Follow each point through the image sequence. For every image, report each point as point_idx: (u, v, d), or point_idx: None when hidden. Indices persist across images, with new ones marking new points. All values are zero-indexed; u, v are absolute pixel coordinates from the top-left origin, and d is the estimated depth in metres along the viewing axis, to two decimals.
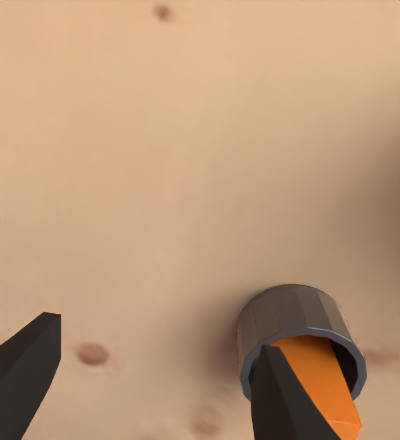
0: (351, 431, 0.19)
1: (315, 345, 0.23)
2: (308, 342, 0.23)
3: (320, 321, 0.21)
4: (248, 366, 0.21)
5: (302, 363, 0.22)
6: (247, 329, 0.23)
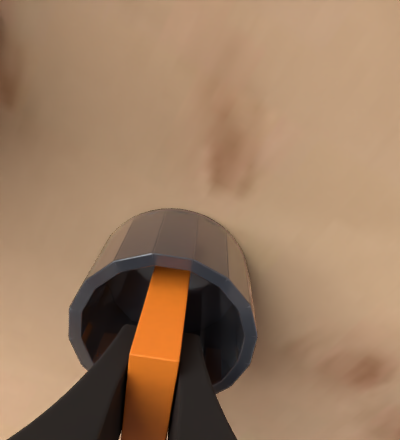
0: (146, 367, 0.11)
1: None
2: None
3: None
4: None
5: None
6: None
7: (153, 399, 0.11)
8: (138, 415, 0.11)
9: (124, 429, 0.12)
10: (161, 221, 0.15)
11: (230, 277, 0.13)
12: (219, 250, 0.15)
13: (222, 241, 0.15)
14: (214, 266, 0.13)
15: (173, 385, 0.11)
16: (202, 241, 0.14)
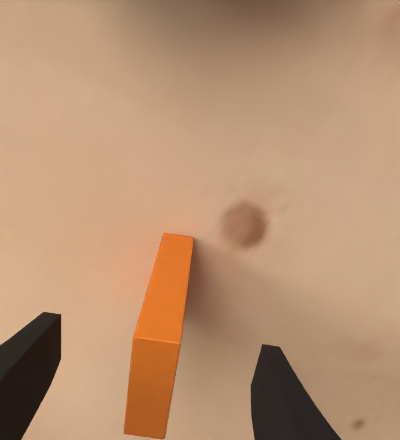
0: (149, 349, 0.11)
1: None
2: None
3: None
4: None
5: None
6: None
7: (156, 380, 0.12)
8: (142, 396, 0.12)
9: (128, 409, 0.12)
10: None
11: None
12: None
13: None
14: None
15: (174, 367, 0.12)
16: None
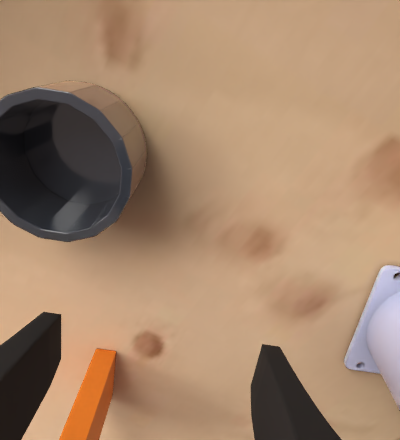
0: None
1: None
2: None
3: None
4: (48, 233, 0.18)
5: None
6: None
7: None
8: None
9: None
10: (59, 82, 0.18)
11: (103, 112, 0.16)
12: (103, 101, 0.17)
13: (111, 100, 0.18)
14: (90, 102, 0.16)
15: None
16: (88, 92, 0.17)
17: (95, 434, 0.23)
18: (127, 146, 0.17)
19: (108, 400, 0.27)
